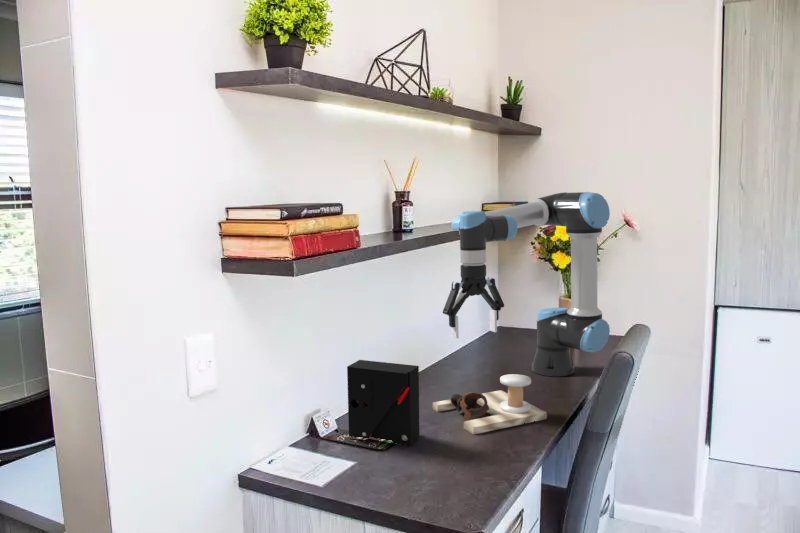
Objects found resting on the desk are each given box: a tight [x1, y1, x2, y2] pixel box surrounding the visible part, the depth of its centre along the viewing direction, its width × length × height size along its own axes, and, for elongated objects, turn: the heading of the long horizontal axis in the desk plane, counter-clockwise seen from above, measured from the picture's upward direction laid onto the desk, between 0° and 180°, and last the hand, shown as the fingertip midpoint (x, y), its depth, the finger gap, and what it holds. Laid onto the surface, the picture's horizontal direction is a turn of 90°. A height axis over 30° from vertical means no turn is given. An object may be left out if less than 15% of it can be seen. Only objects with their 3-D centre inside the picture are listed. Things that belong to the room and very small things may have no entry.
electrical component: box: [346, 359, 420, 447], centre depth 169 cm, size 18×10×20 cm, turn 66°
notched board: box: [432, 389, 548, 435], centre depth 187 cm, size 25×23×2 cm
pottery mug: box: [449, 391, 489, 421], centre depth 185 cm, size 12×10×8 cm
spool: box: [499, 373, 532, 414], centre depth 185 cm, size 9×9×9 cm
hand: (474, 334), depth 188 cm, fingers open, 13 cm apart
